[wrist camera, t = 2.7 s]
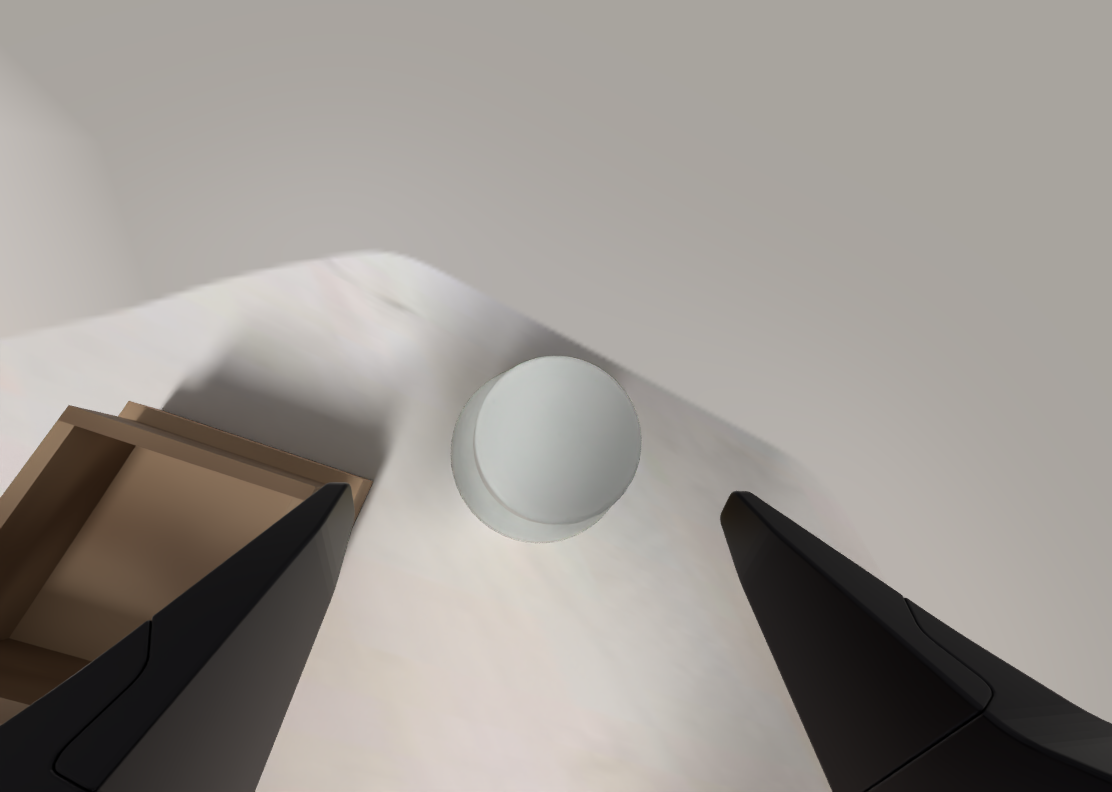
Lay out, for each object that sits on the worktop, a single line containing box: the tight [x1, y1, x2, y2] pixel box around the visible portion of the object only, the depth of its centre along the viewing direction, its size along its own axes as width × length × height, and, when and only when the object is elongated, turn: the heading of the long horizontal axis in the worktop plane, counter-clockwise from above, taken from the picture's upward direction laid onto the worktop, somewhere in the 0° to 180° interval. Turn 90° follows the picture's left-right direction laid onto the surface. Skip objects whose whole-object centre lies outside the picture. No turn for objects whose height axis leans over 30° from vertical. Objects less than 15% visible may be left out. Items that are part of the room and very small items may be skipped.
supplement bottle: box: [451, 356, 641, 543], centre depth 14 cm, size 5×5×10 cm
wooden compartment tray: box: [0, 401, 373, 725], centre depth 12 cm, size 20×9×4 cm, turn 162°
